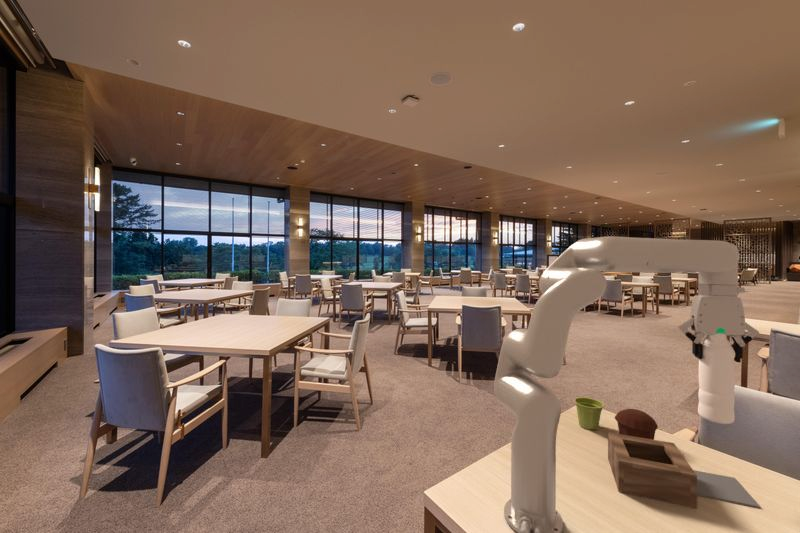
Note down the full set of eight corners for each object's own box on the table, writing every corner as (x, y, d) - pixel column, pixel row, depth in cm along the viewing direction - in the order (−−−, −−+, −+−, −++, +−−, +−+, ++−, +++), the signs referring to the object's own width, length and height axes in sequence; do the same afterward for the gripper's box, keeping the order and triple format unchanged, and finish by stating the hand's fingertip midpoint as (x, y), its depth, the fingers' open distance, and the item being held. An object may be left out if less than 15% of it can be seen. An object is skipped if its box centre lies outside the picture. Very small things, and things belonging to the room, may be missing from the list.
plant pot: (580, 417, 130) (580, 395, 130) (607, 426, 123) (608, 402, 123) (569, 425, 124) (569, 401, 124) (597, 435, 117) (597, 410, 117)
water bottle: (719, 413, 93) (720, 321, 93) (742, 425, 86) (743, 326, 86) (691, 412, 94) (692, 320, 93) (712, 424, 87) (713, 325, 86)
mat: (760, 508, 82) (760, 506, 82) (697, 495, 87) (697, 493, 87) (734, 479, 93) (734, 477, 93) (679, 468, 98) (679, 467, 98)
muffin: (653, 437, 115) (653, 408, 115) (662, 454, 105) (662, 421, 105) (612, 430, 120) (612, 402, 120) (616, 445, 110) (617, 414, 110)
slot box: (696, 508, 82) (697, 475, 82) (618, 491, 88) (618, 460, 88) (673, 471, 97) (673, 443, 97) (608, 458, 103) (608, 432, 103)
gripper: (753, 291, 89) (752, 359, 90) (671, 289, 96) (670, 352, 96) (770, 293, 83) (769, 367, 83) (681, 291, 89) (680, 359, 90)
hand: (716, 358), depth 90 cm, fingers closed on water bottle, 7 cm apart
